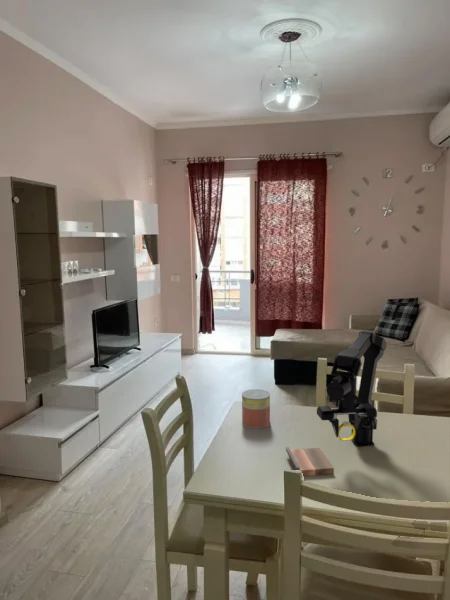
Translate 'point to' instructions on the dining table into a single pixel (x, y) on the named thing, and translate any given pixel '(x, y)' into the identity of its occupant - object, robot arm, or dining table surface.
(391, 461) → the dining table surface
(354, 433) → the watch
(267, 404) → the canned food
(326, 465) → the copper slab
